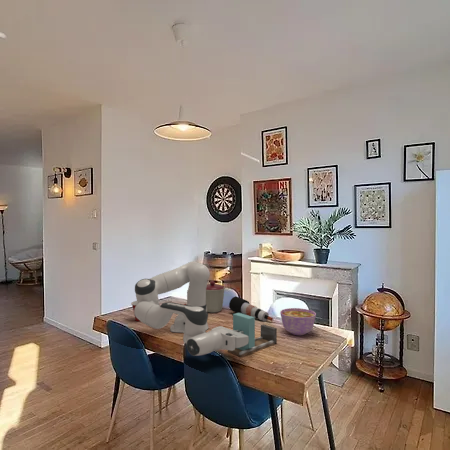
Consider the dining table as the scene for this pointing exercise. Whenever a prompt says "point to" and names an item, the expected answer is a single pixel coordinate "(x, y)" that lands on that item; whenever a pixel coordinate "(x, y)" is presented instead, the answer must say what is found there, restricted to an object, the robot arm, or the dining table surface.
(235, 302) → the cable
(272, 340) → the rail
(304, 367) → the dining table surface
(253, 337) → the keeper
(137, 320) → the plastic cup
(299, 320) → the bowl of food
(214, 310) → the canister
